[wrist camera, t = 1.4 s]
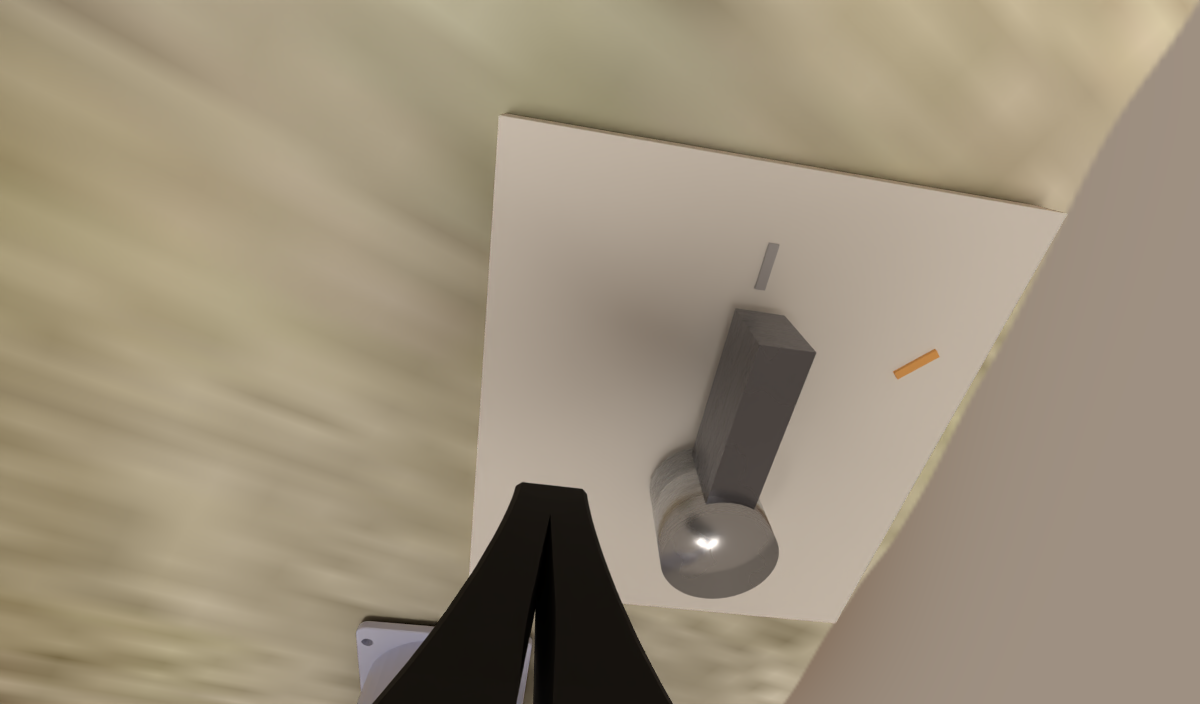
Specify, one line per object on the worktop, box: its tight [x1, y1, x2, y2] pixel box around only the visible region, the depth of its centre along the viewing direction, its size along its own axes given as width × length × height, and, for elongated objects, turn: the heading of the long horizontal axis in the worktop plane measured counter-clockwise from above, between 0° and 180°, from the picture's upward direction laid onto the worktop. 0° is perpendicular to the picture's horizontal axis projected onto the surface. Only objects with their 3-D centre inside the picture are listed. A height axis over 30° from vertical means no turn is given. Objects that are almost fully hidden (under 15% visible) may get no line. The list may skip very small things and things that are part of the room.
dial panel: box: [469, 113, 1067, 623], centre depth 18 cm, size 18×16×1 cm
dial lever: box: [650, 308, 816, 599], centre depth 16 cm, size 9×4×3 cm, turn 171°
